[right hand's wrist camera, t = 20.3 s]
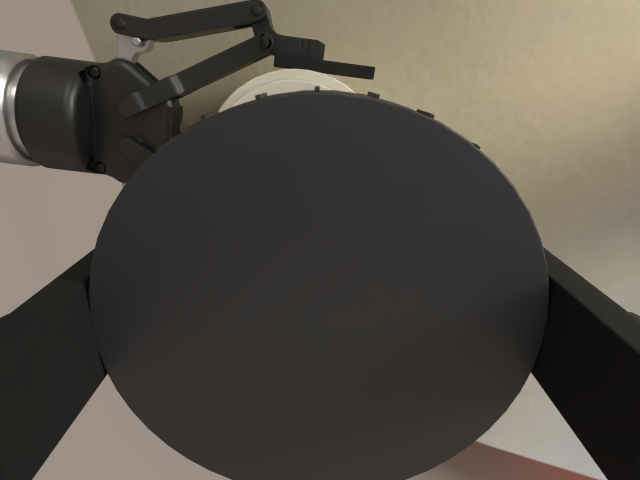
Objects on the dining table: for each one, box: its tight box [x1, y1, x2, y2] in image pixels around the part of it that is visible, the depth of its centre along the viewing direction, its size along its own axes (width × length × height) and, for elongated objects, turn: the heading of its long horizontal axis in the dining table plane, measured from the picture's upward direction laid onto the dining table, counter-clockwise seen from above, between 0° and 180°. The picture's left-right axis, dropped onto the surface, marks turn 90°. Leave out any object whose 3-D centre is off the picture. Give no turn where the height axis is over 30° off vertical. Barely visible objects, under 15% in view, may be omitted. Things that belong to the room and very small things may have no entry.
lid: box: [89, 86, 549, 480], centre depth 11 cm, size 11×11×2 cm
